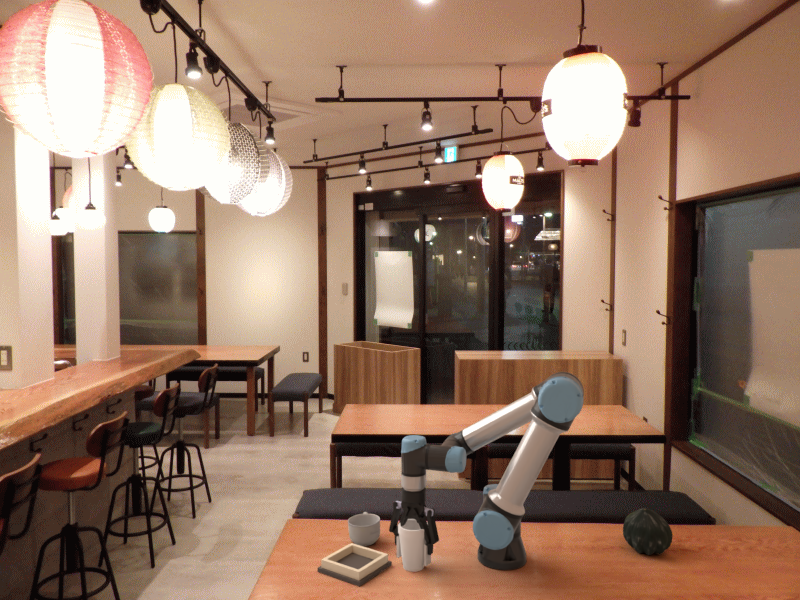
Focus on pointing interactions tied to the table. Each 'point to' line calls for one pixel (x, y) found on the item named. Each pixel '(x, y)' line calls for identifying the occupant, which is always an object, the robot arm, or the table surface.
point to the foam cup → (412, 545)
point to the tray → (354, 564)
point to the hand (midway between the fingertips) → (413, 560)
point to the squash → (647, 532)
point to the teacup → (364, 529)
